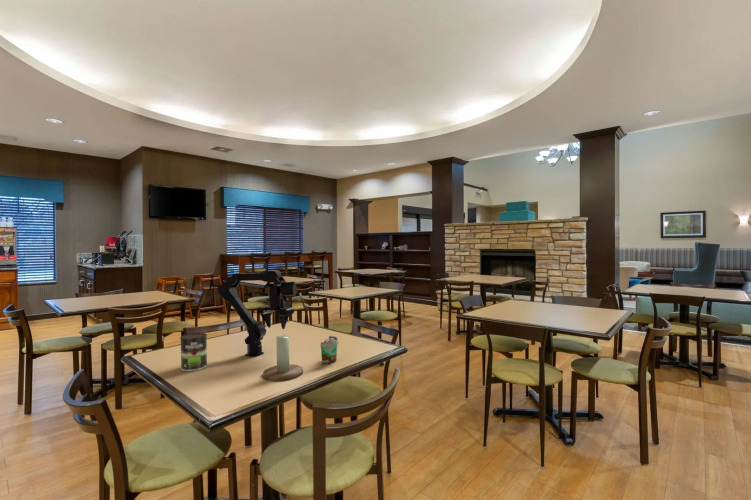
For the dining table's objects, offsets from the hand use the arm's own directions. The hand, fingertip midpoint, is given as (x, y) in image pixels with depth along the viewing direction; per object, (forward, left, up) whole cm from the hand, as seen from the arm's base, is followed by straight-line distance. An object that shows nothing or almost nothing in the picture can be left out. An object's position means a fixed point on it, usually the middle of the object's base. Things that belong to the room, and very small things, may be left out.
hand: (276, 328), depth 173 cm
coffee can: (-21, -29, -13) cm, 38 cm away
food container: (+29, +4, -13) cm, 32 cm away
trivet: (+20, -18, -13) cm, 30 cm away
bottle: (+20, -18, -12) cm, 30 cm away
